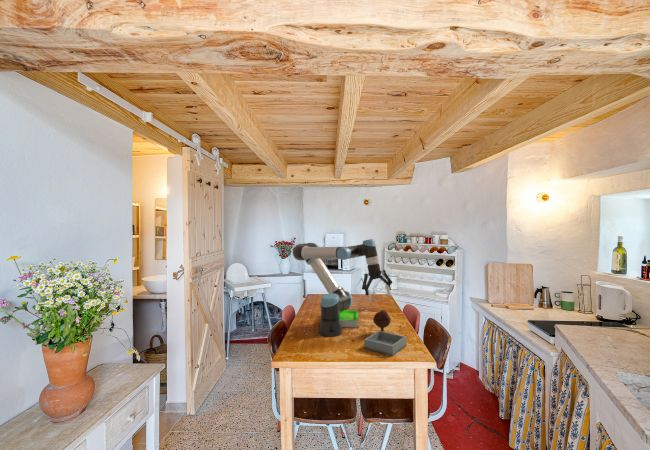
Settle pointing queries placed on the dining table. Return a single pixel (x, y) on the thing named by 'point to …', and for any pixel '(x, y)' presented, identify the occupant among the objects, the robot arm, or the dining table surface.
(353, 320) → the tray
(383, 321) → the ice cream bowl
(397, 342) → the charcoal tray
